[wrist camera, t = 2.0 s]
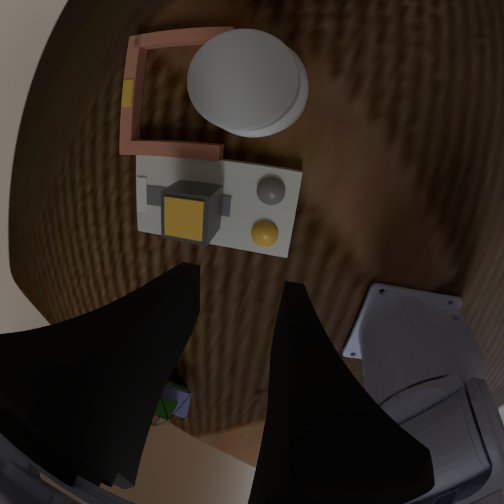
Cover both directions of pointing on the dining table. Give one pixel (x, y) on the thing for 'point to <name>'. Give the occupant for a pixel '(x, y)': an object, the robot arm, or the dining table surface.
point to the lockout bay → (134, 93)
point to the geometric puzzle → (172, 402)
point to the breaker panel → (227, 199)
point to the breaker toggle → (191, 211)
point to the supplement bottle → (248, 83)
